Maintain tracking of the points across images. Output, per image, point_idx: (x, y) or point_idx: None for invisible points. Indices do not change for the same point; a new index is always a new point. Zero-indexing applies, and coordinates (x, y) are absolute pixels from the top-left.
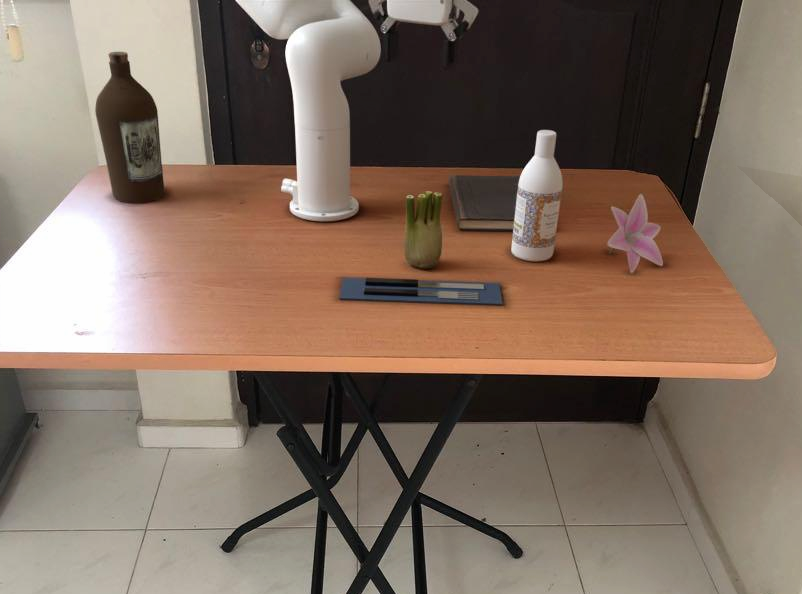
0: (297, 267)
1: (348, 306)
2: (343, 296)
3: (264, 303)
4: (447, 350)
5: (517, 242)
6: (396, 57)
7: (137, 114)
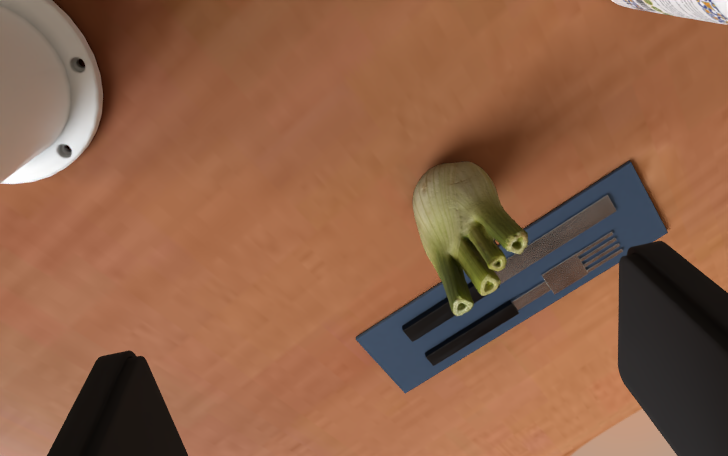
0: (248, 356)
1: (431, 396)
2: (407, 386)
3: None
4: None
5: (637, 8)
6: (152, 382)
7: None
